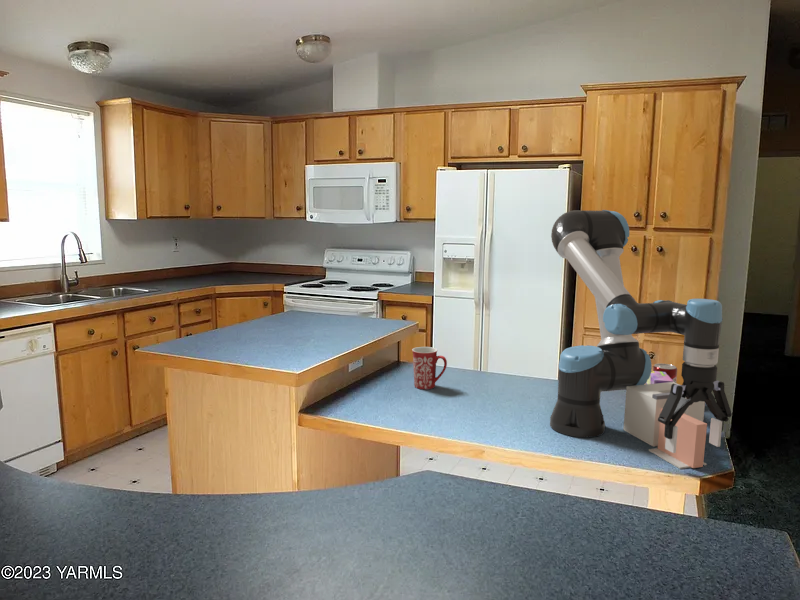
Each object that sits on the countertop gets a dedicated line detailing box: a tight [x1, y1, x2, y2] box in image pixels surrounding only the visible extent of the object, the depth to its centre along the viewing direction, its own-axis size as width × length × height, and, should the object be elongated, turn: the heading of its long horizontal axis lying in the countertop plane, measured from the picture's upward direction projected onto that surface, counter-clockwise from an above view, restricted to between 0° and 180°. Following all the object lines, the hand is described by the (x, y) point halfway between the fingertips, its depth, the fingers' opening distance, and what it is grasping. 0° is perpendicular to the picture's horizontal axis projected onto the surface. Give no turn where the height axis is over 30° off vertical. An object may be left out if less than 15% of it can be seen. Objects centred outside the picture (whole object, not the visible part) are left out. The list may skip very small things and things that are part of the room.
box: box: [645, 370, 674, 384], centre depth 177 cm, size 10×6×12 cm, turn 168°
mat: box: [648, 447, 707, 470], centre depth 144 cm, size 8×11×1 cm
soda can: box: [652, 362, 678, 383], centre depth 187 cm, size 7×7×12 cm
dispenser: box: [623, 382, 706, 447], centre depth 158 cm, size 16×12×14 cm
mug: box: [411, 346, 448, 390], centre depth 199 cm, size 13×9×14 cm
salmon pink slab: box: [657, 408, 708, 469], centre depth 143 cm, size 3×12×11 cm, turn 17°
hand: (692, 447), depth 139 cm, fingers open, 13 cm apart
